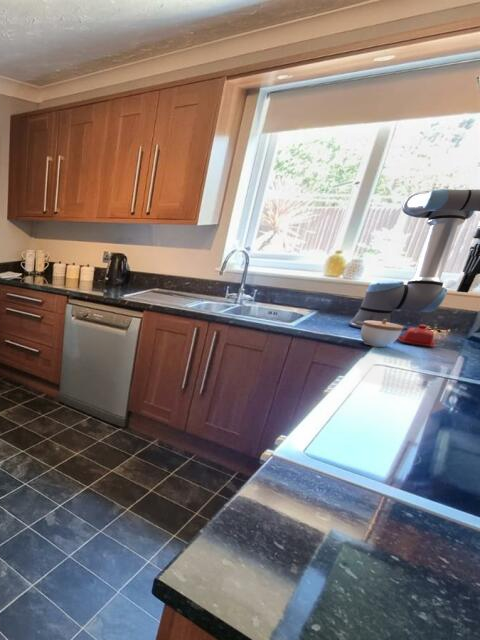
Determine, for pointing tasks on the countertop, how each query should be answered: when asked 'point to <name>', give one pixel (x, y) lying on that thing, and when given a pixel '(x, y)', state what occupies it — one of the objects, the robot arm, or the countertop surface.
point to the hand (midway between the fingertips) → (462, 291)
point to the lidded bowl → (380, 333)
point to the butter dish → (418, 336)
